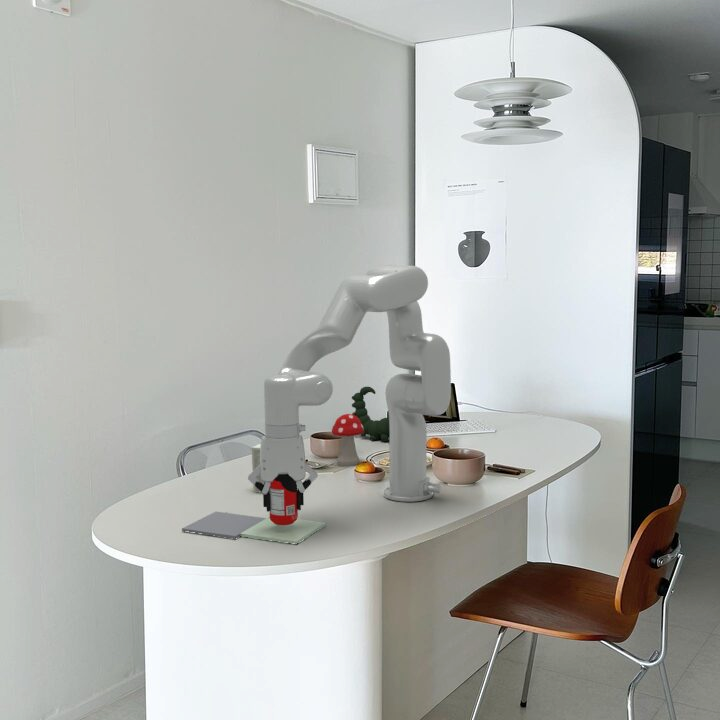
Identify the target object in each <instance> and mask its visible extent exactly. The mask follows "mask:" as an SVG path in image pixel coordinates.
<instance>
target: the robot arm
mask: <svg viewBox="0 0 720 720" xmlns="http://www.w3.org/2000/svg"><path fill="white" fill-rule="evenodd" d="M428 287H429V279H428V276H427V274H426V272H425V271H424V270H423V269H422V268H421V267H418V266H417V265H416V266H415V265H404V264H403V265H398V264H395V265H393V264H380V265H375V266H372V267H370V268H369V269H368V270H367V271H366V273H365V274H361V275H360V274H358V275H357V274H354V275H349V276H347V277H345V278H344V279H343V280H342V281H341V282H340V284H339V286H338V287H337V290H336V291H335V293H334V295H333V298H332V300H331V301H330V303H329V305H328V307H327V309H326V311H325V313H324V315H323V317H322V318H321V321H320V322H319V324H318V326H317V327H316V328H314V330H312V331H311V332H310V333H308V334H307V335H306V336H305V337H304V338H302V339H301V341H299V342H298V343H297V344H296V345H295V346H294V347H293V348H292V349H291V350H290V352H289V353H288V355H287V356H286V358H285V360H284V362H283V364H282V366H281V368H280V370H279V371H278V374H277V375H276V374H275V375H270V376H267V377H266V378H265V380H264V382H263V383H264V384H263V387H264V388H263V394H264V396H263V399H264V435H263V436H261V441H260V444H261V446H260V465H259V466H258V467H257V468H256V469H255V470H254V471H253V470H252V471H251V473H250V474H248V475H247V480H248V481H249V482H250V483H251V484H252V485H253V484H254V485H255V486H256V487H257V488H258V489H259V490H260V491H261V492H262V497H263V498H262V499H263V501H262V503H263V504H262V505H263V508H266V512H267V513H270V494H269V487H270V482H272V481H273V479H274V478H276V477H277V476H278V473H289V476H291V477H292V478H293V479H294V480H295V481H296V484H297V509H298V511H302V506H304V505H305V504H304V503H305V501H304V493H305V491H306V490H307V489H308V488H309V487H310V486H311V485H312V483H313V482H314V481H315V480H317V478H318V477H319V475H318V472H317V471H316V470H314V469H313V467H311V466H310V465H309V464H308V463H306V452H305V444H304V439H303V435H302V434H300V433H301V432H304V431H306V425H305V424H301V423H300V419H299V415H300V414H299V413H300V412H299V409H300V407H305V406H308V407H317V406H321V405H324V404H326V403H327V402H328V401H329V400H330V398H332V395H333V391H334V387H333V383H332V380H330V379H329V377H328V376H327V375H325V374H322V373H320V372H317V371H316V372H315V371H310V370H311V368H313V366H314V365H315V364H316V363H317V362H318V361H319V360H321V359H322V358H324V357H326V356H328V355H330V354H332V353H335V352H337V351H340V350H342V349H344V348H347V347H348V346H349V345H350V344H352V342H353V340H354V337H355V336H356V334H357V332H358V329H359V327H360V325H361V323H362V321H363V319H364V317H365V316H366V314H367V313H368V312H369V313H372V312H373V313H384V312H385V313H386V314H387V315H386V316H387V323H388V339H389V355H390V357H389V358H390V360H391V363H392V364H393V365H394V366H395V367H397V368H398V369H403V370H409V371H417V372H420V374H415V373H413V374H412V373H399V374H396V375H394V376H392V377H391V378H390V379H389V380H388V381H387V384H386V387H385V392H384V393H385V401H386V405H387V411H388V415H389V426H390V438H389V486H387V487H386V488H384V489H383V496H384V497H385V498H386V499H388V500H391V501H395V502H408V503H409V502H411V503H413V502H422V501H425V500H429V499H430V498H431V499H432V497H433V494H441V493H442V490H443V488H442V485H441V484H440V483H434V482H433V483H432V481H431V478H430V477H428V476H427V445H428V444H427V436H428V431H427V430H428V429H427V423H426V420H425V417H424V415H426V416H431V417H433V416H441V415H442V414H443V415H444V413H445V412H446V411H447V410H448V408H449V407H450V403H451V400H452V399H451V398H452V378H451V376H452V375H451V372H452V371H451V353H450V349H449V345H448V343H447V342H446V340H445V339H444V338H443V337H442V336H441V335H438V334H435V333H427V332H424V328H423V315H422V309H421V307H420V306H421V305H420V303H419V300H421V299H422V298H423V297H424V295H426V293H427V290H428ZM259 473H260V475H261V480H262V481H264V484H262V483H261V482H260V481H258V480H257V479H256V476H257V475H258V474H259ZM306 473H307V474H308V475H309V476H308V477H307V478H306V476H307V475H306ZM304 479H305V480H304ZM261 492H260V493H261Z"/></svg>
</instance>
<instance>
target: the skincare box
mask: <svg viewBox="0 0 720 720" xmlns="http://www.w3.org/2000/svg"><path fill="white" fill-rule="evenodd" d="M260 446H261V443H258V444H255V445H254V446H251V463H252V472H253V471H254V470H255V469H256V468H257V467H258V466H259V465H260ZM256 479H257V480H258V481H260V482H261V483H262V484H264V481H262V480H261V475H260V473H259V474H258V475H257V476H256ZM252 486H253V487H252V488H253V491H252V492H254V493H260V494H261V493H262V492H261V491H260V490H259V489H258V488H257V487H256V486H255V485H254V484H252ZM262 494H263V493H262Z"/></svg>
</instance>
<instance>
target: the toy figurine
mask: <svg viewBox="0 0 720 720" xmlns="http://www.w3.org/2000/svg"><path fill="white" fill-rule="evenodd" d="M369 393H372V394H374V395H376V390H375V389H374V388H373V387H371V386H363V387H362V388H360V391H359V392H356V393H354V395H352V396H351V400H353V401H354V403H352V404H351V408H354V409H355V411H354V412H353V411H352V413H351V414H352V415H355V416H356V417H358V418H359V420H360V421H361V423H362V425H363V428H364V433H362V434H360V436H361V437H363V438H364V437H367V435H369V436H370V438H369V439H370V440H371V442H374V441H376V440H378V439H381V440H382V442H387V441H388V440H389V439H390V426H389V414H388V415H387V417H384V418H383V417H382V418H381V419H380V420H373V419H371V416H370V415H368V412H369V411H368V409H367V408H366V402H365V400H364V396H366V395H367V394H369Z"/></svg>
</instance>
